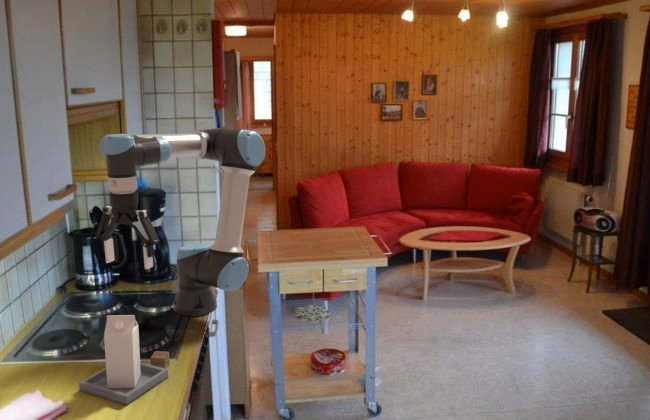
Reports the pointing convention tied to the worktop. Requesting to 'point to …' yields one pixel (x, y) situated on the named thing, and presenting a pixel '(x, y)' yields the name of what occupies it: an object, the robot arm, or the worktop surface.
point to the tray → (125, 396)
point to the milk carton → (122, 351)
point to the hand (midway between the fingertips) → (129, 264)
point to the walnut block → (160, 359)
